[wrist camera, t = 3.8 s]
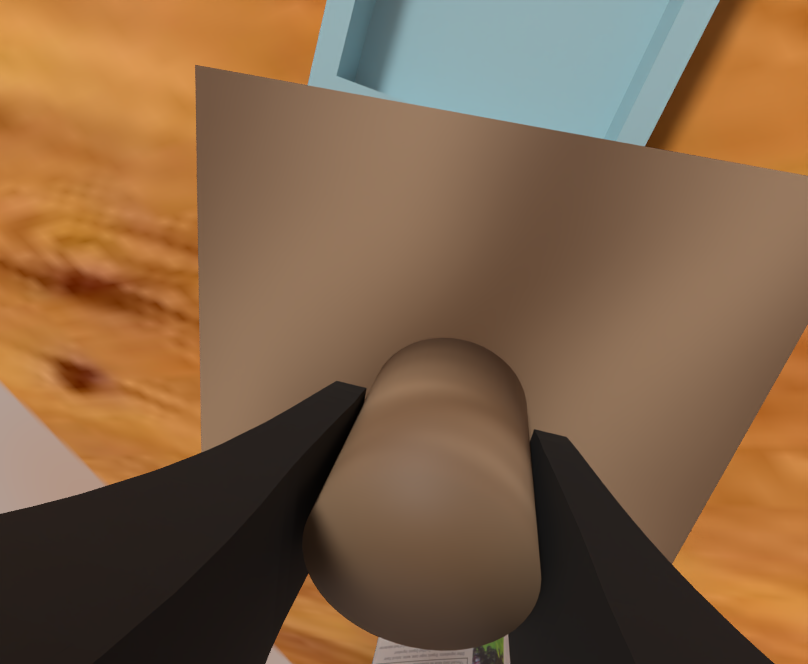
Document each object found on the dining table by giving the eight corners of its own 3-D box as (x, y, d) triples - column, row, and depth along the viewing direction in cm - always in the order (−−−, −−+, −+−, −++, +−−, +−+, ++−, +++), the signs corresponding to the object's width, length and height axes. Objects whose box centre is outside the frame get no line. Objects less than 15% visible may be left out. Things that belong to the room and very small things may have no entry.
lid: (857, 185, 8) (1257, 261, 4) (618, 626, 12) (676, 879, 8) (213, 68, 9) (-39, 24, 5) (214, 514, 14) (87, 689, 9)
